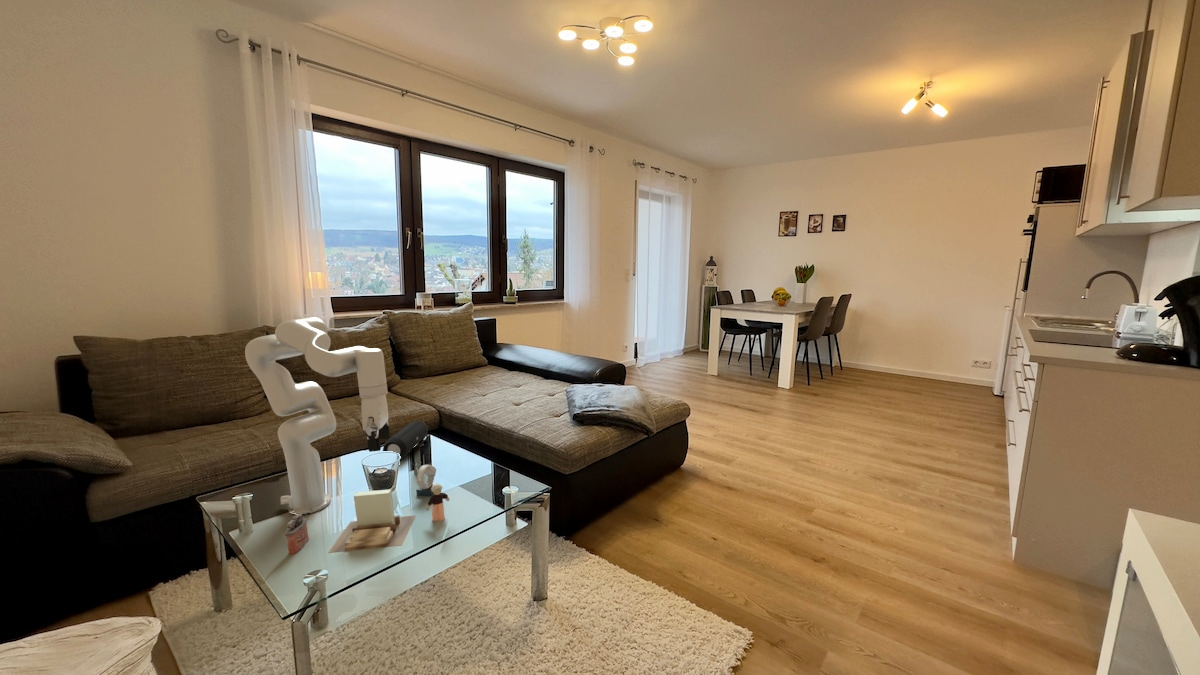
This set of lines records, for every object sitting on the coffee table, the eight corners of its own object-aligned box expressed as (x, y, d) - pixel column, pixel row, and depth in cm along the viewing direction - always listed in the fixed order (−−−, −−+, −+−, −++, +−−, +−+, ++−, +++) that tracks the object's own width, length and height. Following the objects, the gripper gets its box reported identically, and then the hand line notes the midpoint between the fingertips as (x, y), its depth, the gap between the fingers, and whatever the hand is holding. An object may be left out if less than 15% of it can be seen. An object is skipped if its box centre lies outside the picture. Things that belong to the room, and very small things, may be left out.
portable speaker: (405, 463, 192) (402, 440, 190) (381, 463, 193) (379, 440, 191) (430, 439, 217) (428, 418, 215) (410, 439, 218) (407, 419, 216)
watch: (440, 490, 168) (437, 461, 166) (429, 501, 160) (425, 471, 158) (426, 489, 169) (423, 460, 167) (414, 500, 161) (410, 470, 159)
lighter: (301, 541, 139) (296, 510, 137) (313, 540, 139) (308, 509, 138) (285, 558, 131) (280, 525, 129) (298, 557, 131) (292, 524, 130)
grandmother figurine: (434, 528, 143) (430, 490, 141) (426, 525, 145) (422, 487, 143) (454, 516, 150) (450, 479, 148) (446, 513, 152) (442, 477, 150)
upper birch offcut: (350, 542, 133) (349, 537, 133) (355, 535, 137) (354, 530, 137) (386, 538, 135) (386, 533, 134) (390, 531, 138) (390, 526, 138)
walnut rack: (328, 556, 131) (326, 544, 131) (351, 524, 147) (349, 514, 146) (402, 548, 134) (400, 537, 133) (416, 518, 149) (415, 508, 149)
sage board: (358, 533, 140) (353, 496, 138) (361, 528, 143) (356, 492, 141) (393, 529, 142) (388, 493, 140) (395, 525, 144) (391, 489, 142)
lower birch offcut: (345, 548, 133) (344, 543, 133) (350, 539, 137) (350, 535, 137) (388, 543, 135) (388, 538, 134) (393, 535, 139) (392, 530, 138)
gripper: (369, 383, 146) (375, 435, 149) (349, 399, 129) (356, 457, 132) (394, 381, 147) (400, 433, 150) (378, 397, 131) (384, 454, 133)
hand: (379, 444), depth 141 cm, fingers open, 9 cm apart
